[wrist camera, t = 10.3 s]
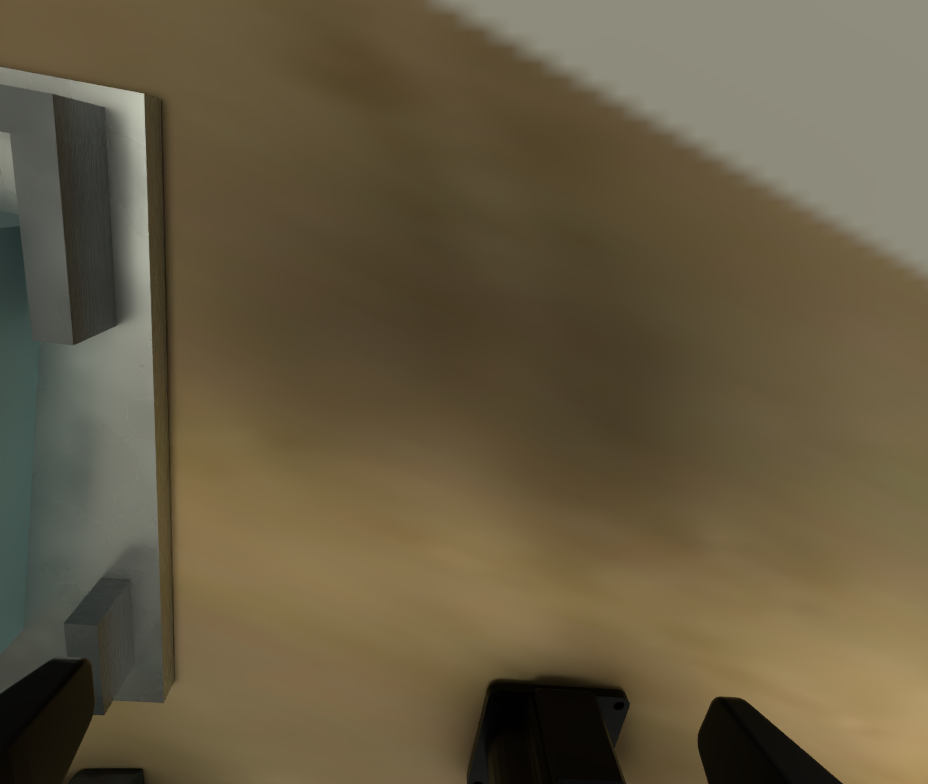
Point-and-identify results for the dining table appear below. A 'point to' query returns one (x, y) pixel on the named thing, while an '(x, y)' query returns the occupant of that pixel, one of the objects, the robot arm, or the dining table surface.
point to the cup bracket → (93, 381)
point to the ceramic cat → (108, 777)
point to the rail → (15, 428)
